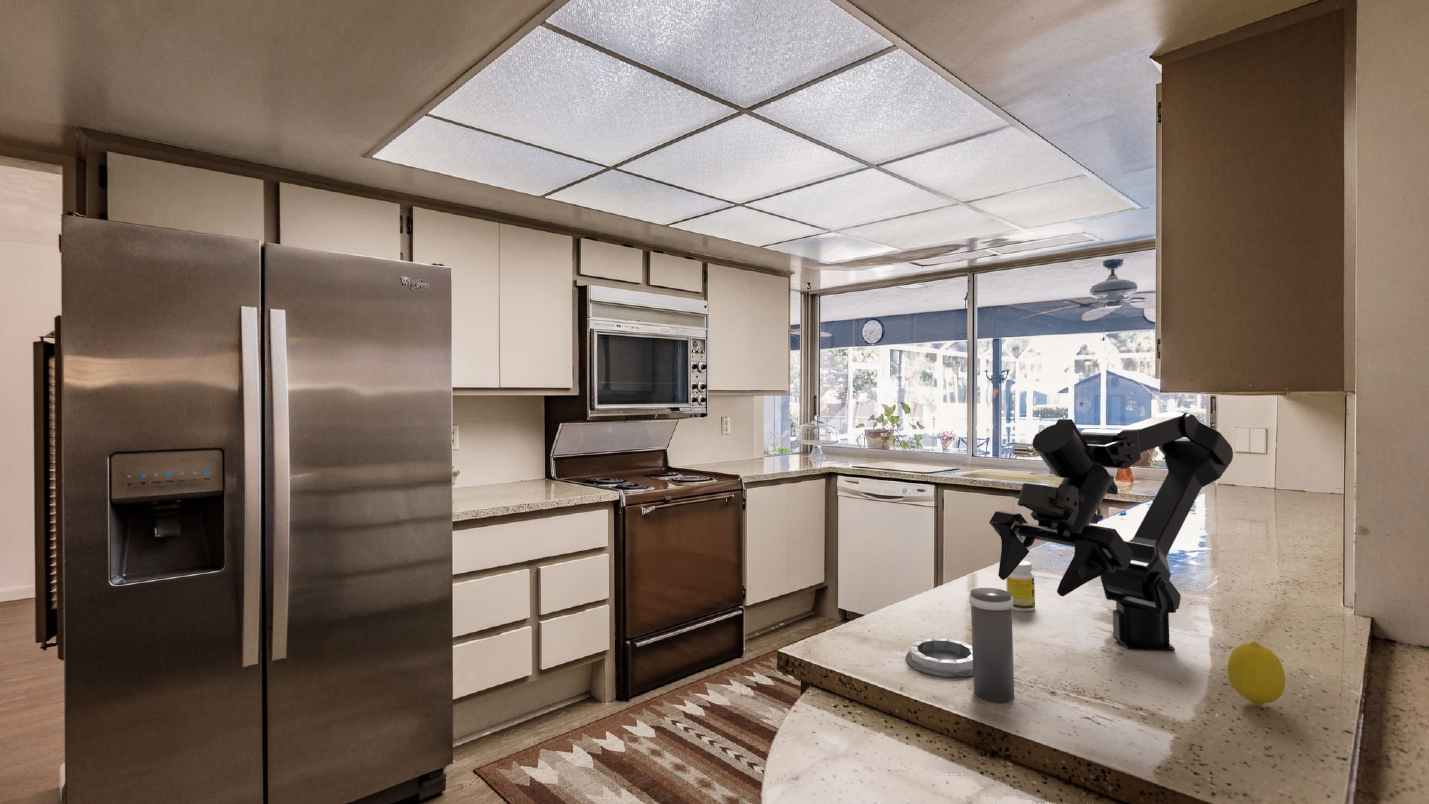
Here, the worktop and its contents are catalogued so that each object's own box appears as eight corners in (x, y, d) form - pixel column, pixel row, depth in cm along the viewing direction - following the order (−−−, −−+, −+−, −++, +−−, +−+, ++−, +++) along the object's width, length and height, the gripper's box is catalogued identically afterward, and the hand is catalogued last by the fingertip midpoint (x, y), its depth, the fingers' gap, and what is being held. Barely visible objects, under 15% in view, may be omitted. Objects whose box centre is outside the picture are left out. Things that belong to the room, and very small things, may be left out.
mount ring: (976, 649, 102) (976, 638, 102) (990, 679, 91) (990, 667, 91) (903, 646, 104) (903, 635, 104) (909, 675, 94) (908, 663, 94)
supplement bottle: (1038, 612, 118) (1037, 566, 118) (1010, 611, 119) (1009, 565, 119) (1031, 604, 123) (1029, 559, 123) (1004, 603, 124) (1002, 559, 123)
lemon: (1217, 697, 84) (1215, 635, 84) (1257, 694, 85) (1255, 632, 84) (1256, 718, 79) (1254, 652, 78) (1298, 714, 79) (1297, 649, 79)
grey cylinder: (1010, 686, 89) (1007, 587, 89) (1020, 705, 84) (1017, 600, 84) (968, 684, 90) (965, 586, 90) (976, 702, 85) (972, 598, 85)
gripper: (995, 458, 101) (945, 538, 96) (1116, 467, 84) (1063, 565, 79) (1031, 503, 105) (985, 583, 100) (1154, 521, 88) (1105, 618, 83)
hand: (1028, 585), depth 90 cm, fingers open, 9 cm apart
